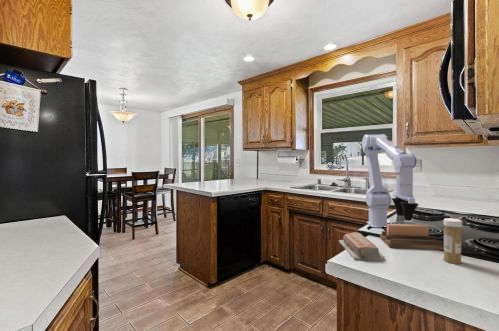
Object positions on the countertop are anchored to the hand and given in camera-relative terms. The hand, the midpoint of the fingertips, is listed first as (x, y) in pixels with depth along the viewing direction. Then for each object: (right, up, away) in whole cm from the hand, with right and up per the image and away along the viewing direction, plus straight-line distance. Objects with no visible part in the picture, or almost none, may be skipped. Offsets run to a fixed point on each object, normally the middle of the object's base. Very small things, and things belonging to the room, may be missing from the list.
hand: (403, 217), depth 103 cm
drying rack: (-1, -9, -5) cm, 10 cm away
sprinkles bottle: (+2, -10, -21) cm, 24 cm away
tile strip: (-1, -7, -3) cm, 8 cm away
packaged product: (-22, -10, -10) cm, 27 cm away
